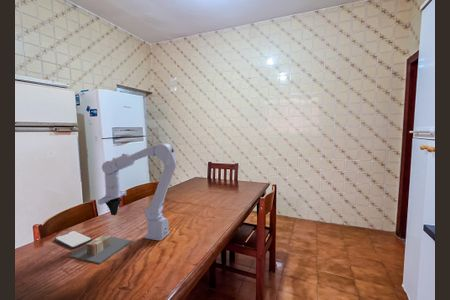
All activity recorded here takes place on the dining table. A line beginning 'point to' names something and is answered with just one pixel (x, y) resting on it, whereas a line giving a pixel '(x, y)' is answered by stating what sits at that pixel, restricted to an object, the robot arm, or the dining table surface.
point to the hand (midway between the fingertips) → (114, 214)
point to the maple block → (98, 245)
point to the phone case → (73, 239)
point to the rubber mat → (104, 254)
